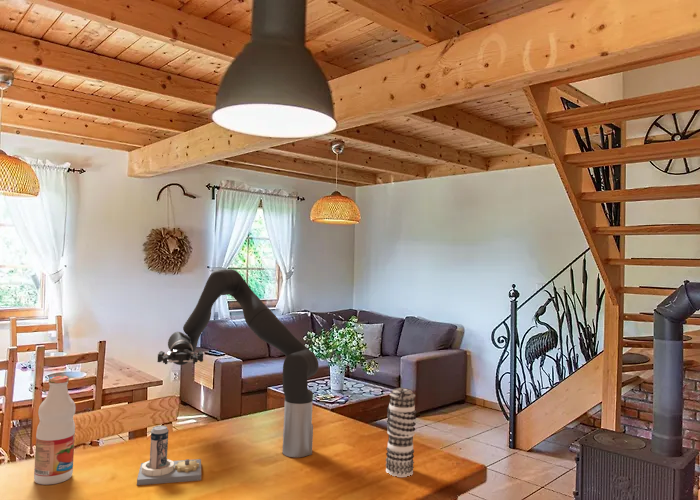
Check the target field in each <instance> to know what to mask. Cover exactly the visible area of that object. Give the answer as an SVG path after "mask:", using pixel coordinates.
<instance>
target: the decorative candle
mask: <svg viewBox="0 0 700 500" xmlns="http://www.w3.org/2000/svg"><path fill="white" fill-rule="evenodd" d="M388 395H389V402H388V403H389V404H388V406H387V408H386V413H387V414H386V417H387V420H386V424H387V427H386V430H387V431H386V434H388V441H387V447H386V448H385V449H386V453H385V454H386V458H385V472H386V473H389V474H390V475H389V474H388V475H389V476H391V475H392V477H395V476H397V477H396V478H408V477H407V476H409V477H411V476H413V474H414V463H415V462H414V457H415V455H414V453H415V450H414V436H415V431H416V427H415V426H416V425H417V424H416V422H415V421H414V420H417V416H416V414H418V413H417V412H418V411H416V410H415V409H416V408H415V407H416V405H415V398H416V394H415V393H413V391H412V390H411V389H409V388H405V387H396V388H394V389H392V390H391V392H389V393H388ZM410 475H411V476H410Z"/></svg>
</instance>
